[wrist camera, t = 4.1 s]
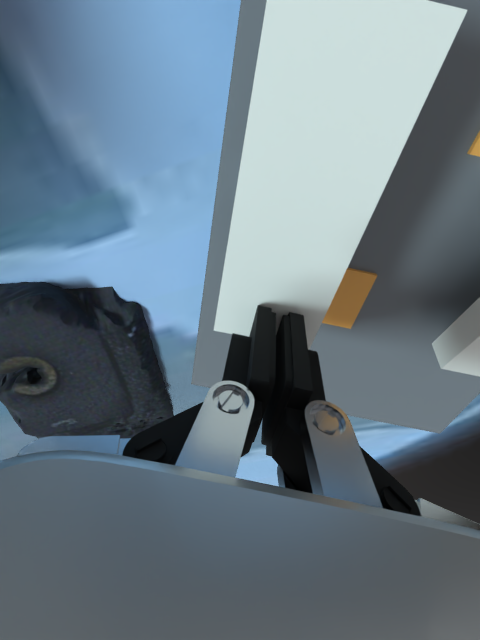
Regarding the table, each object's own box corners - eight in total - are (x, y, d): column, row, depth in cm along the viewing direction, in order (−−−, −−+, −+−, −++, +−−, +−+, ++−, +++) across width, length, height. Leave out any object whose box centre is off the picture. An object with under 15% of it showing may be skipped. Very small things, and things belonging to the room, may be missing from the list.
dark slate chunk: (59, 453, 34) (32, 498, 31) (-68, 278, 22) (-141, 316, 18) (192, 460, 33) (181, 508, 29) (137, 273, 20) (105, 313, 16)
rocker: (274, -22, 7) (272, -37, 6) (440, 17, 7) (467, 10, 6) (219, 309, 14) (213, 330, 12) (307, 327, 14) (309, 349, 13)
